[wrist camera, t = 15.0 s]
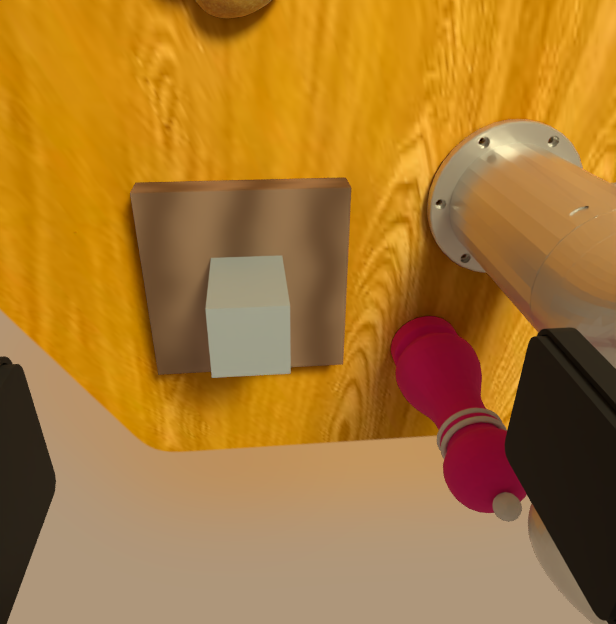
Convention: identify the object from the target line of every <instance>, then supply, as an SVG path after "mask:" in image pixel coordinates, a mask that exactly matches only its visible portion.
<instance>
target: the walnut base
mask: <svg viewBox="0 0 616 624" xmlns="http://www.w3.org/2000/svg"><path fill="white" fill-rule="evenodd" d="M130 196H131V202H132V209H133V215H134V222H135V228H136V234H137V241H138V247H139V253H140V260H141V266H142V273H143V279H144V285H145V292H146V298H147V305H148V311H149V317H150V324H151V330H152V336H153V343H154V349H155V356H156V362H157V368H158V375H160V374H178V373H196V372H211V363H210V352H209V342H208V331H207V320H206V310H205V309H206V299H207V290H208V281H209V271H210V262H211V258H224V257H253V256H282V257H283V264H284V270H285V276H286V283H287V289H288V295H289V302H290V355H291V367H303V366H321V365H339V364H343V353H344V331H345V309H346V288H347V266H348V245H349V223H350V201H351V186H350V185H349V183H348V181H347V179H346V178H311V179H270V180H229V181H188V182H148V183H135V185H134V187H133V189H132V191H131V193H130Z"/></svg>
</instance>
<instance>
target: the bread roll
mask: <svg viewBox="0 0 616 624" xmlns="http://www.w3.org/2000/svg"><path fill="white" fill-rule="evenodd" d="M271 1H272V0H196V2H197V3H198V5H199V6H200V7H201V8H202V9H203V10H204V11H205V12H207V13H208V14H209V15H212V16H215V17H219V18H237V17H242V16H246V15H249V14H251V13H253V12H255V11H257V10H259V9H261V8H262V7H264V6H265V5H267V4H268V3H269V2H271Z"/></svg>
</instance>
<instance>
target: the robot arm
mask: <svg viewBox="0 0 616 624" xmlns="http://www.w3.org/2000/svg"><path fill="white" fill-rule="evenodd" d="M481 138H483V140H482V142H481V143H479V140H480V139H481ZM550 138H551V139H550ZM549 139H550V141H549ZM548 141H549V142H548ZM438 200H440V202H439V203H438V204H436V202H437V201H438ZM427 213H428V222H429V226H430V231H431V233H432V235H433V237H434V239H435V241H436V243H437V244H438V246H439V247H440V249H441V250H442V251H443V252H444V253H445V254H446V255H447V256H448V257H449V258H450V259H451V260H452V261H453V262H455V263H456V264H458V265H459V266H461V267H464V268H467V269H469V270H472V271H477V272H484V273H487V274H488V275H489V276H490V277H491V278H492V279H493V281H494V282H495V283H496V284H497V285H498V286H499V288H500V289H501V290H502V291H503V292H504V293H505V294H506V296H507V297H508V298H509V299H510V300H511V301H512V303H513V304H514V305H515V306H516V307H517V308H518V309H519V311H520V312H521V313H522V314H523V315H524V316H525V318H526V319H527V320H528V321H529V322H530V323H531V325H532V326H533V327H534V328H535V329H536V330H537V331H538V335H537V337H532V338H531V339H530V341H529V344H528V348H527V352H526V356H525V360H524V364H523V368H522V372H521V377H520V381H519V385H518V389H517V393H516V397H515V401H514V405H513V409H512V414H511V418H510V422H509V426H508V430H507V434H506V438H505V444H504V445H505V454H506V457H507V460H508V462H509V464H510V465H511V467H512V469H513V471H514V473H515V474H516V476H517V478H518V480H519V481H520V483H521V485H522V487H523V488H524V490H525V492H526V494H527V496H528V497H529V499H530V501H531V503H532V504H531V507H530V511H529V517H528V531H529V538H530V541H531V544H532V547H533V550H534V553H535V555H536V557H537V559H538V561H539V562H540V564H541V566H542V568H543V569H544V571H545V572H546V574H547V575H548V576H549V578H550V579H551V581H552V582H553V583H554V585H555V586H556V587H557V588H558V590H559V591H560V592H561V593H562V594H563V595H564V596H565V597H566V598H567V599H568V600H569V602H570V603H571V604H572V605H573V606H574V607H575V608H577V610H579V612H581V613H582V614H583V615H584V616H585V617H586V618H587V619H588V620H589V621H590V622H592V623H593V624H616V183H608V182H607V181H605V180H603V179H601V178H599V177H597V176H595V175H593V174H591V173H590V172H588V171H586V170H584V169H583V167H582V164H581V160H580V157H579V154H578V153H577V151H576V149H575V147H574V146H573V144H572V143H571V142H570V141H569V140H568V139H567V138H566V137H565V136H564V135H563V134H562V133H561V132H559V131H557V130H556V129H554V128H552V127H551V126H548V125H546V124H543V123H541V122H538V121H533V120H528V119H509V120H505V121H500V122H495V123H493V124H490V125H488V126H485V127H483V128H481V129H479V130H477V131H476V132H474V133H472V134H471V135H469V136H468V137H466V138H465V139H464V140H463V141H462V142H460V143H459V144H458V145H457V146H456V147H455V148H454V149H453V150H452V151H451V152H450V153H449V155H448V156H447V157H446V158H445V160H444V161H443V162H442V164H441V166H440V168H439V169H438V171H437V173H436V175H435V177H434V180H433V182H432V185H431V188H430V191H429V197H428V203H427ZM463 254H464V255H463ZM462 255H463V256H462ZM55 484H56V480H55V472H54V470H53V466H52V463H51V459H50V456H49V453H48V450H47V446H46V443H45V440H44V437H43V433H42V430H41V426H40V423H39V420H38V416H37V414H36V410H35V407H34V403H33V400H32V397H31V393H30V390H29V387H28V384H27V380H26V377H25V374H24V371H23V368H22V367H21V366H20V365H19V364H12V362H11V360H10V359H9V358H7V357H0V624H7V621H8V618H9V616H10V613H11V610H12V607H13V604H14V602H15V599H16V596H17V594H18V591H19V588H20V585H21V583H22V580H23V577H24V575H25V572H26V569H27V566H28V564H29V561H30V558H31V556H32V553H33V550H34V547H35V544H36V542H37V539H38V536H39V534H40V531H41V528H42V526H43V523H44V520H45V517H46V515H47V512H48V509H49V506H50V504H51V501H52V498H53V495H54V492H55Z"/></svg>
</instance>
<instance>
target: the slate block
mask: <svg viewBox="0 0 616 624" xmlns="http://www.w3.org/2000/svg"><path fill="white" fill-rule="evenodd" d="M205 310H206V320H207V331H208V342H209V352H210V363H211V373H212V378H217V377H235V376H254V375H272V374H290V373H291V355H290V302H289V295H288V289H287V283H286V276H285V270H284V264H283V257H282V256H253V257H224V258H211V262H210V271H209V281H208V290H207V299H206V309H205Z"/></svg>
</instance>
